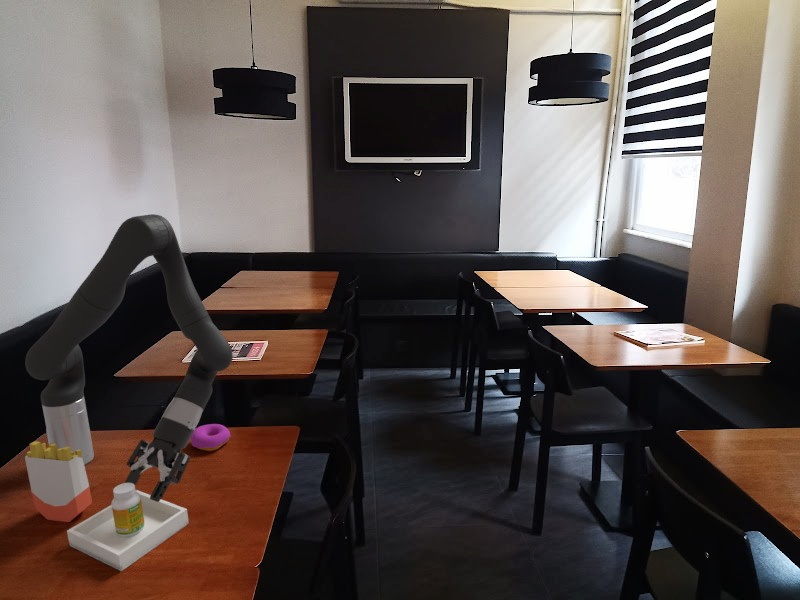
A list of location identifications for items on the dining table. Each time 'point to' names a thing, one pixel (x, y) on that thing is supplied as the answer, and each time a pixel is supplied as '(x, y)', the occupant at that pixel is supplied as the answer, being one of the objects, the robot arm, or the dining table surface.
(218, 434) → the donut
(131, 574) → the dining table surface
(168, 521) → the tray
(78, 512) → the french fries container
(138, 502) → the supplement bottle
